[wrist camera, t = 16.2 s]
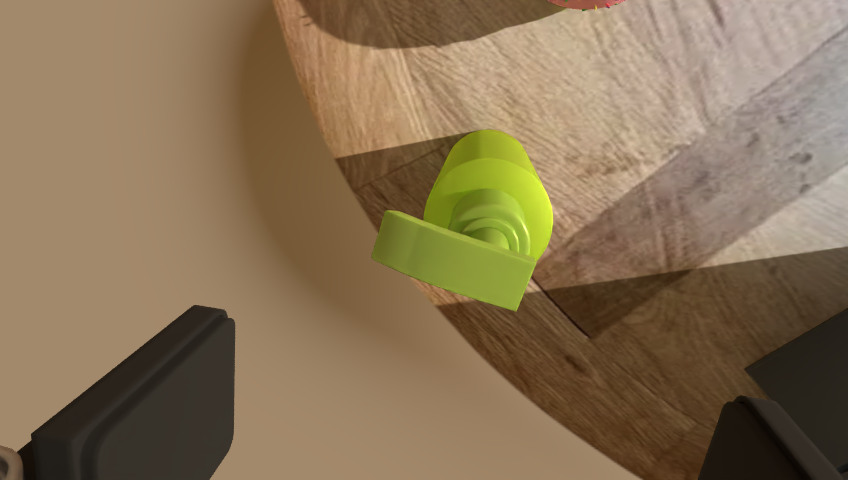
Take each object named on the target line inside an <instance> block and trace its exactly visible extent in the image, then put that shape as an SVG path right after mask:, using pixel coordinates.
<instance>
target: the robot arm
mask: <svg viewBox="0 0 848 480" xmlns="http://www.w3.org/2000/svg"><path fill="white" fill-rule="evenodd" d="M234 372H235V322H234V320H233V319H232V318H228V316H227V313H226V311H225V310H223V309H217V308H211V307H205V306H199V305H194V306H192V307H191V308H190V309H188V310H187V311H186V312H184V313H183V314H182V315H181V316H179V317H178V318H177V319H176V320H174V321H173V322H172V323H170V324H169V325H168V326H167V327H166V328H164V329H163V330H162V331H161V332H159V333H158V334H157V335H155V336H154V337H153V338H152V339H150V340H149V341H148V342H146V343H145V344H144V345H143V346H142V347H140V348H139V349H138V350H137V351H135V352H134V353H133V354H131V355H130V356H129V357H128V358H126V359H125V360H124V361H122V362H121V363H120V364H119V365H117V366H116V367H115V368H114V369H112V370H111V371H110V372H109V373H107V374H106V375H105V376H104V377H103V378H101V379H100V380H98V381H97V382H96V383H95V384H93V385H92V386H91V387H90V388H88V389H87V390H86V391H85V392H83V393H82V394H81V395H80V396H78V397H77V398H76V399H74V400H73V401H72V402H71V403H69V404H68V405H67V406H66V407H65V408H63V409H62V410H61V411H59V412H58V413H57V414H56V415H54V416H53V417H52V418H50V419H49V420H48V421H47V422H46V423H44V424H43V425H42V426H40V427H39V428H38V429H37V430H35V431H34V432H33V433H32V434H31V439H32V440H31V441H30V442H29V443H27V444H26V445H25V446H24V447H22V448H21V449H20V450H19V451H18V452H15V451H14V450H13V449H10V448H7V447H3V446H0V480H209V479H210V478H211V476H212V475H213V474H214V472H215V470H216V469H217V468H218V466H219V465H220V463H221V462H222V460H223V459H224V457H225V456H226V454H227V453H228V451H229V449H230V446H231V443H232V440H233V434H234ZM698 480H845V479H844V478H843V477H842V476H841V474H840V473H839V472H838V471H837V470H836V469H835V468H834V466H833V465H832V464H831V463H830V462H829V461H828V460H827V458H826V457H825V456H824V455H823V454H822V453H821V452H820V450H819V449H818V448H817V447H816V446H815V445H814V444H813V442H812V441H811V440H810V439H809V438H808V437H807V436H806V434H805V433H804V432H803V431H802V430H801V429H800V428H799V427H798V425H797V424H796V423H795V422H794V421H793V420H792V419H791V417H790V416H789V415H788V414H787V413H786V412H785V411H784V409H783V408H782V407H781V406H780V405H779V404H778V403H777V402H775V401H772V400H766V399H760V398H754V397H748V396H742V395H741V396H738V397H736V398H735V400H734V401H733V402H730V401H729V402H726V403H725V405H724V406H723V408H722V411H721V414H720V417H719V420H718V422H717V425H716V428H715V431H714V434H713V437H712V440H711V443H710V446H709V448H708V451H707V454H706V457H705V460H704V463H703V466H702V469H701V472H700V474H699V477H698Z"/></svg>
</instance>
